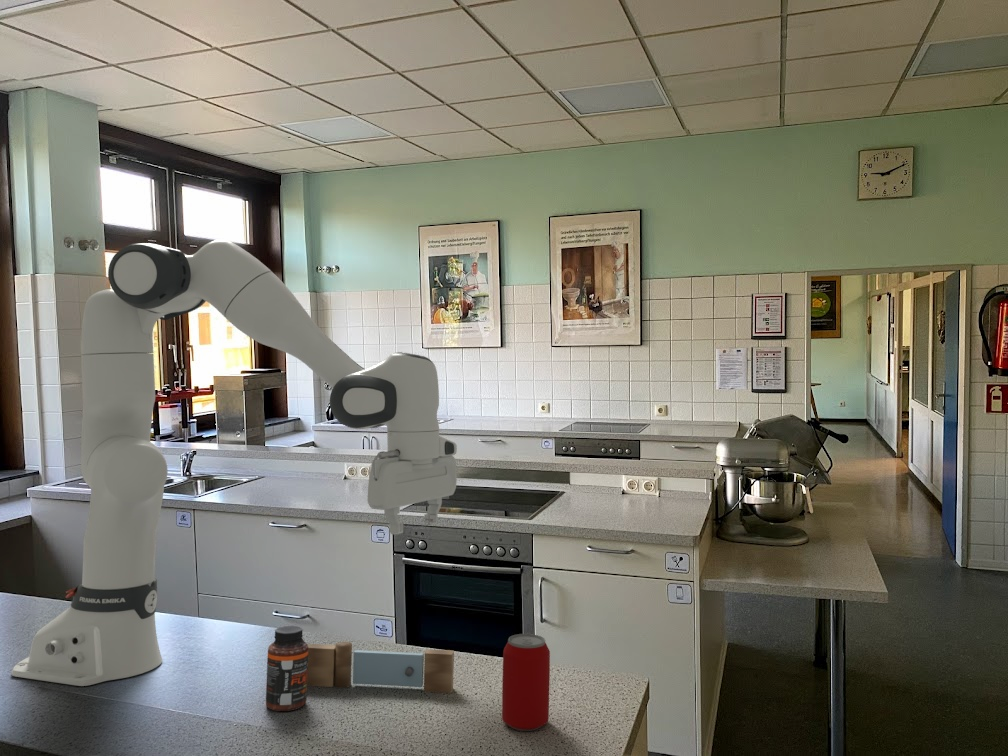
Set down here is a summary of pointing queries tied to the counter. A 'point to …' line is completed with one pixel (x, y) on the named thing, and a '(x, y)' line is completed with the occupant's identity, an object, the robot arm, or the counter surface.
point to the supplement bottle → (287, 670)
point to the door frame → (335, 661)
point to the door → (388, 668)
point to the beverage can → (525, 682)
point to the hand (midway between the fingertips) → (414, 528)
